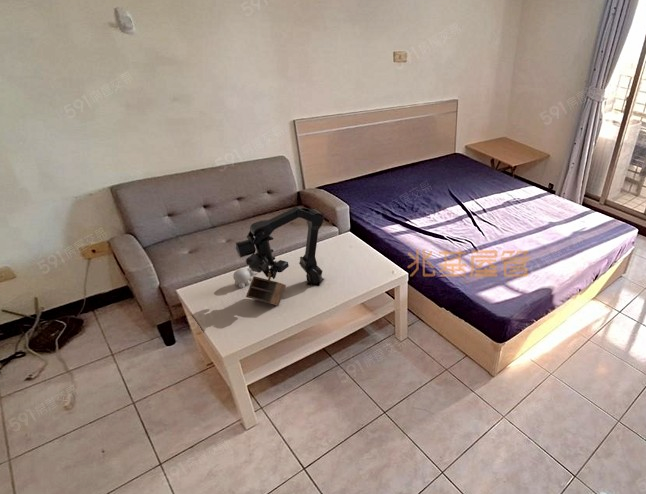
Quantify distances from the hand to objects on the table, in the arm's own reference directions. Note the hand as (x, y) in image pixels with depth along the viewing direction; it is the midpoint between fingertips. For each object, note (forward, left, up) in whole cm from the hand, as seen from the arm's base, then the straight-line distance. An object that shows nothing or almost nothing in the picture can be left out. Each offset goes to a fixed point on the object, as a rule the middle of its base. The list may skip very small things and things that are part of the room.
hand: (271, 277), depth 193 cm
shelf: (0, +1, -5) cm, 5 cm away
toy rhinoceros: (+18, -8, -11) cm, 23 cm away
